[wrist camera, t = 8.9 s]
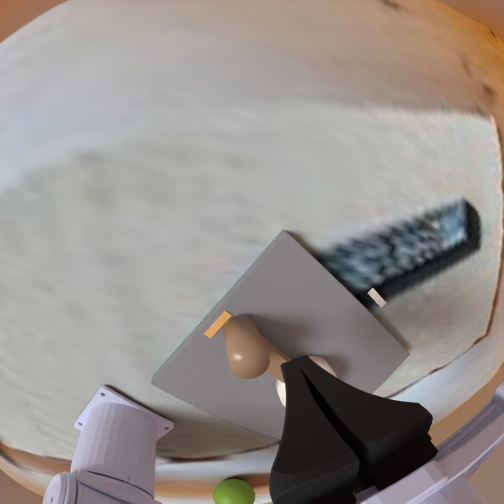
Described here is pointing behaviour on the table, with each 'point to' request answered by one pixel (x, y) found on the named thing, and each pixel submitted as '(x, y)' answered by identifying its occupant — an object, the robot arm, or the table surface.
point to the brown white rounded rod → (257, 353)
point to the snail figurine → (233, 492)
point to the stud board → (281, 339)
